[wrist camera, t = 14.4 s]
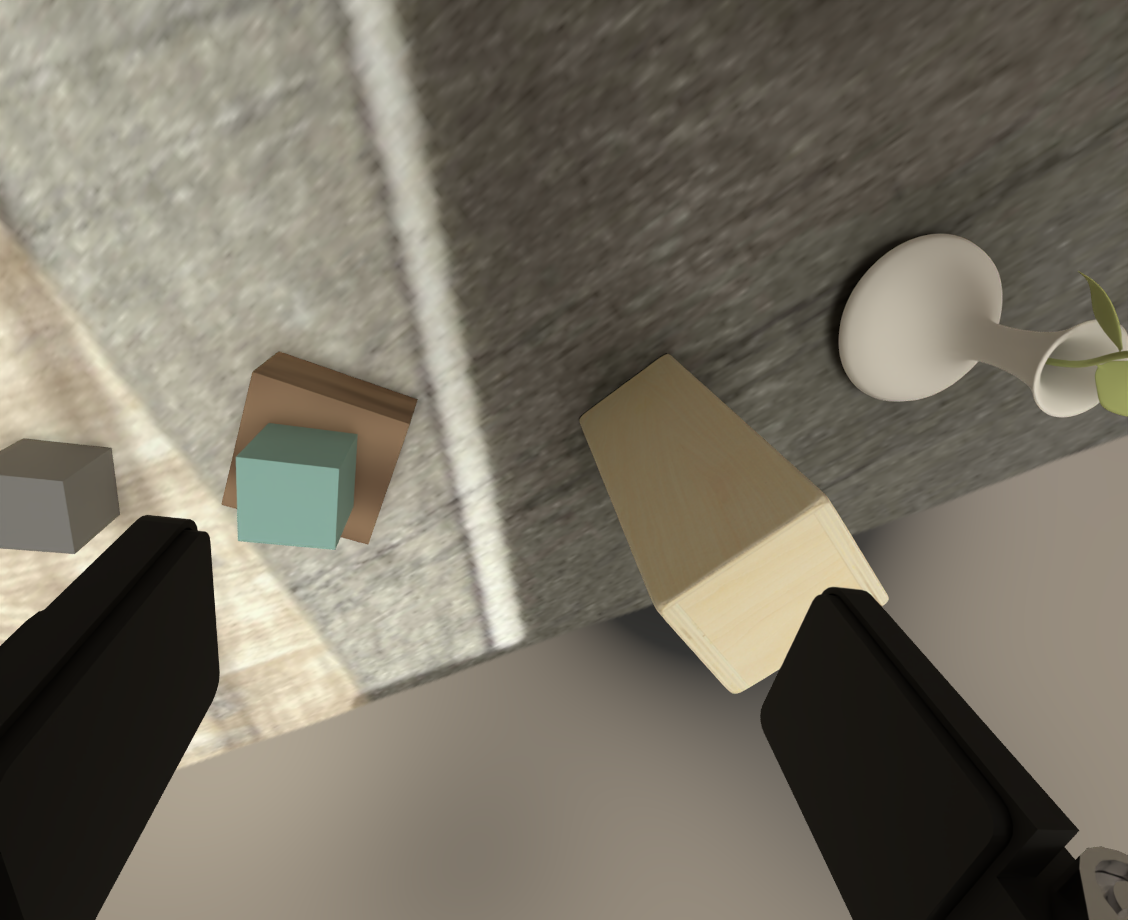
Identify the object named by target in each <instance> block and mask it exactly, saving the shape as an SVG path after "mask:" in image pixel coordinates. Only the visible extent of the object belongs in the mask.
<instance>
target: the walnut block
mask: <svg viewBox="0 0 1128 920" xmlns="http://www.w3.org/2000/svg"><path fill="white" fill-rule="evenodd" d="M417 400H418V399H415V398H412V397H409V396H406V395H403V394H400V393H397V392H395V391H392V390H389V389H386V388H383V387H380V386H377V385H374V384H372V383H369V382H366V381H363V380H360V379H357V378H354V377H351V376H348V375H346V374H343V373H340V372H337V371H334V370H331V369H328V368H325V367H322V366H320V365H317V364H314V363H311V362H308V361H305V360H302V359H299V358H297V357H294V356H291V355H288V354H285V353H282V352H278V353H276V354H275V355H274V356H272V357H271V358H270V359H268V360H267V361H266V362H265V363H263V364H262V365H261V366H259V367H258V368H257V369H255V370H254V371H253V372H252V376H251V380H250V385H249V389H248V393H247V398H246V402H245V406H244V410H243V415H242V419H241V423H240V427H239V432H238V436H237V440H236V445H235V449H234V453H233V457H232V462H231V466H230V470H229V475H228V479H227V483H226V487H225V492H224V496H223V500H222V505H225V506H228V507H232V508H236V509H237V484H236V456H237V455H238V454H239V453H240V452H241V451H242V450H243V449H244V448H245V447H246V446H247V445H248V444H249V443H250V442H251V441H252V440H253V439H254V438H255V437H256V435H257V434H258V433H259V432H260V431H261V430H262V429H263V428H264V427H265V426H266V425H267V424H268V423H274V424H282V425H289V426H297V427H305V428H313V429H321V430H329V431H337V432H345V433H353V434H358V437H357V454H356V470H355V487H354V504H353V509H352V511H351V514H350V516H349V518H348V521H347V523H346V525H345V528H344V530H343V532H342V535H341V537H343V538H346V539H350V540H354V541H357V542H361V543H365V544H369V541H370V538H371V535H372V532H373V529H374V526H375V523H376V520H377V517H378V515H379V512H380V509H381V506H382V503H383V500H384V497H385V494H386V491H387V488H388V486H389V483H390V480H391V477H392V474H393V471H394V468H395V465H396V462H397V460H398V457H399V454H400V451H401V448H402V445H403V442H404V439H405V436H406V433H407V431H408V428H409V425H410V422H411V419H412V415H413V412H414V409H415V406H416V403H417Z"/></svg>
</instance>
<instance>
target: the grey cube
mask: <svg viewBox="0 0 1128 920" xmlns="http://www.w3.org/2000/svg"><path fill="white" fill-rule="evenodd" d="M119 515H120V511H119V503H118V495H117V487H116V479H115V471H114V463H113V456H112V448H106V447H97V446H87V445H78V444H69V443H60V442H50V441H41V440H32V439H22V440H20V441H18V442H16V443H15V444H13V445H11V446H9V447H7V448H5V449H3V450H1V451H0V548H3V549H16V550H29V551H42V552H55V553H68V554H75V553H76V552H78V551H79V550H80V549H81V548H82V547H83V546H84V545H86V544H87V543H88V542H89V541H90V540H91V539H92V538H94V537H95V536H96V535H97V534H98V533H99V532H100V531H101V530H103V529H104V528H105V527H106V526H107V525H108V524H109V523H111V522H112V521H113V520H114V519H115V518H116V517H117V516H119Z"/></svg>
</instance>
